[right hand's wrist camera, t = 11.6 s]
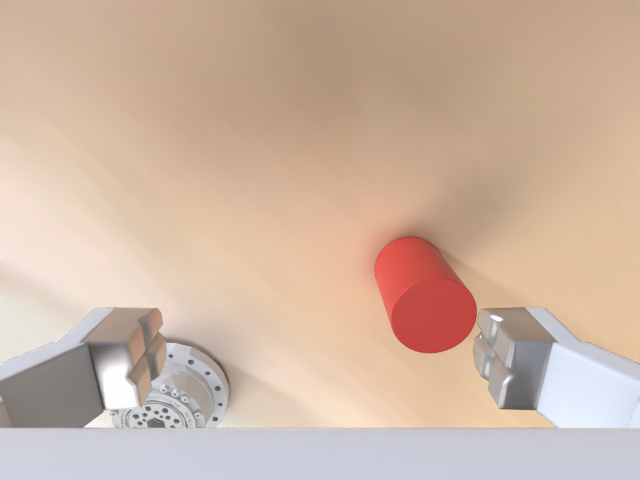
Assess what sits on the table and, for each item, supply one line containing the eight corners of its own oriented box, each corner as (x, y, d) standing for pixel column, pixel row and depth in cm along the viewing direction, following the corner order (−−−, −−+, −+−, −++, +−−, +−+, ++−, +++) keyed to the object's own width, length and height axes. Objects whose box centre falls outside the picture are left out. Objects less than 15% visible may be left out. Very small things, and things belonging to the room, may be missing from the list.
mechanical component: (102, 402, 36) (200, 445, 38) (74, 441, 32) (186, 487, 34) (145, 321, 34) (249, 371, 35) (120, 353, 29) (240, 408, 31)
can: (361, 263, 32) (373, 311, 25) (417, 223, 31) (447, 261, 24) (399, 309, 34) (421, 367, 26) (454, 273, 32) (493, 323, 25)
